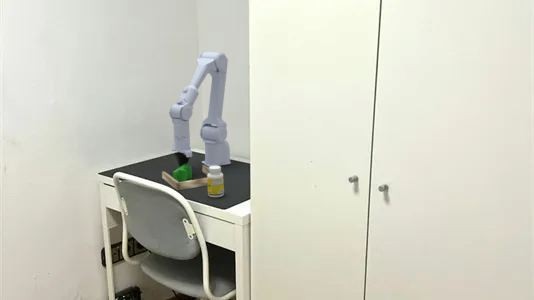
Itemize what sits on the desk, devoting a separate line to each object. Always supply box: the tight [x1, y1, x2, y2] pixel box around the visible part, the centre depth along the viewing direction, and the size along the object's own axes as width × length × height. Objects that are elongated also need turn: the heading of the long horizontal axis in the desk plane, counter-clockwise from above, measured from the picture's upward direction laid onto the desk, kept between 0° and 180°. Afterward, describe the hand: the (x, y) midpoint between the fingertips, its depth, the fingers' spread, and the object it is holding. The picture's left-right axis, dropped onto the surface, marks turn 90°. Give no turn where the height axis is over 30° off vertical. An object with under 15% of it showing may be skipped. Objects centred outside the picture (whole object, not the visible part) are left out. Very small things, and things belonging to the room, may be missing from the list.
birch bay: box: [161, 164, 210, 191], centre depth 209 cm, size 17×16×3 cm
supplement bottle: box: [206, 165, 225, 198], centre depth 193 cm, size 5×5×10 cm
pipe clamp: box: [172, 163, 193, 182], centre depth 210 cm, size 11×4×5 cm, turn 165°
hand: (183, 171), depth 216 cm, fingers closed
